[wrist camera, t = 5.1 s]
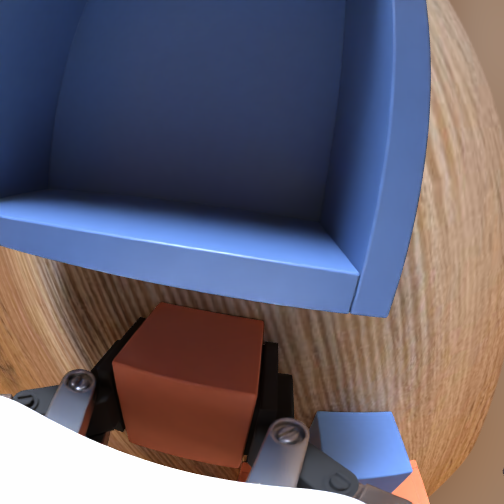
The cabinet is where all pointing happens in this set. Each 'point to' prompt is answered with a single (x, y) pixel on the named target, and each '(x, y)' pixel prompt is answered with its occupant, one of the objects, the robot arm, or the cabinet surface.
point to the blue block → (363, 446)
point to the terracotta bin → (407, 489)
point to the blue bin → (218, 143)
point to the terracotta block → (191, 383)
